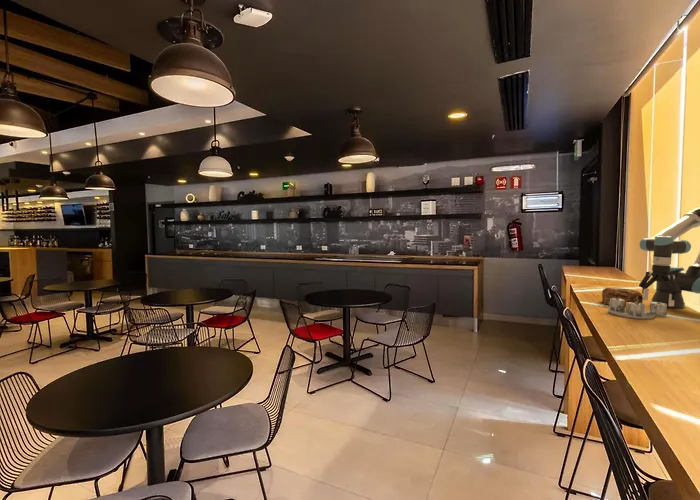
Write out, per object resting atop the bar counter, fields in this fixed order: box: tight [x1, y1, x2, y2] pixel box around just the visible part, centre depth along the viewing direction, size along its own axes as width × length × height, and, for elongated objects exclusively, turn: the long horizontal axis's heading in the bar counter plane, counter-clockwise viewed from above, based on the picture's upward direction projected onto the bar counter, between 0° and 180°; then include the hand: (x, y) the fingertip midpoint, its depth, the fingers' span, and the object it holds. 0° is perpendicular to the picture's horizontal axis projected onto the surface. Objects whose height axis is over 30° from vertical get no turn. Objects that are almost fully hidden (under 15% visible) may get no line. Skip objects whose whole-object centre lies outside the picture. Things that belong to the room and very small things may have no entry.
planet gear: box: [649, 301, 668, 317], centre depth 197 cm, size 7×7×6 cm
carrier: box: [608, 298, 656, 320], centre depth 196 cm, size 20×20×8 cm
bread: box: [601, 287, 644, 307], centre depth 218 cm, size 19×11×10 cm, turn 63°
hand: (657, 303), depth 196 cm, fingers open, 13 cm apart
